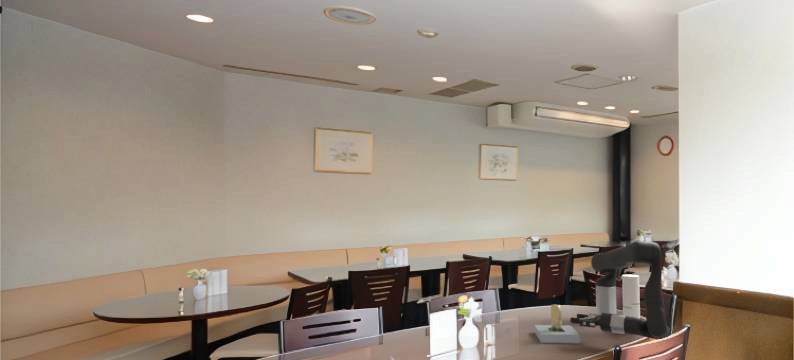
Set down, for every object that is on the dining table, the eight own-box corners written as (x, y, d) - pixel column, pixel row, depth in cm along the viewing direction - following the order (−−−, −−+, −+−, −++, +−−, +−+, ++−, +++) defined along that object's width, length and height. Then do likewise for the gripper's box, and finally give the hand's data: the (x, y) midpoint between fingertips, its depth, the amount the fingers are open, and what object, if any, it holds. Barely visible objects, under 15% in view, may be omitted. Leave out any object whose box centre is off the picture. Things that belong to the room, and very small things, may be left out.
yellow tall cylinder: (550, 336, 224) (549, 304, 225) (560, 336, 224) (560, 304, 224) (552, 339, 220) (551, 306, 220) (563, 339, 219) (562, 306, 220)
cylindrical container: (642, 332, 230) (640, 277, 230) (625, 331, 231) (624, 276, 232) (638, 328, 237) (636, 274, 237) (621, 327, 238) (620, 274, 239)
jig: (534, 332, 231) (534, 324, 231) (570, 333, 229) (570, 325, 229) (540, 342, 215) (540, 334, 215) (579, 343, 213) (579, 335, 213)
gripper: (617, 310, 214) (578, 306, 223) (609, 317, 202) (568, 312, 212) (618, 328, 214) (579, 323, 223) (609, 336, 202) (568, 330, 212)
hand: (573, 318), depth 218 cm, fingers open, 8 cm apart
